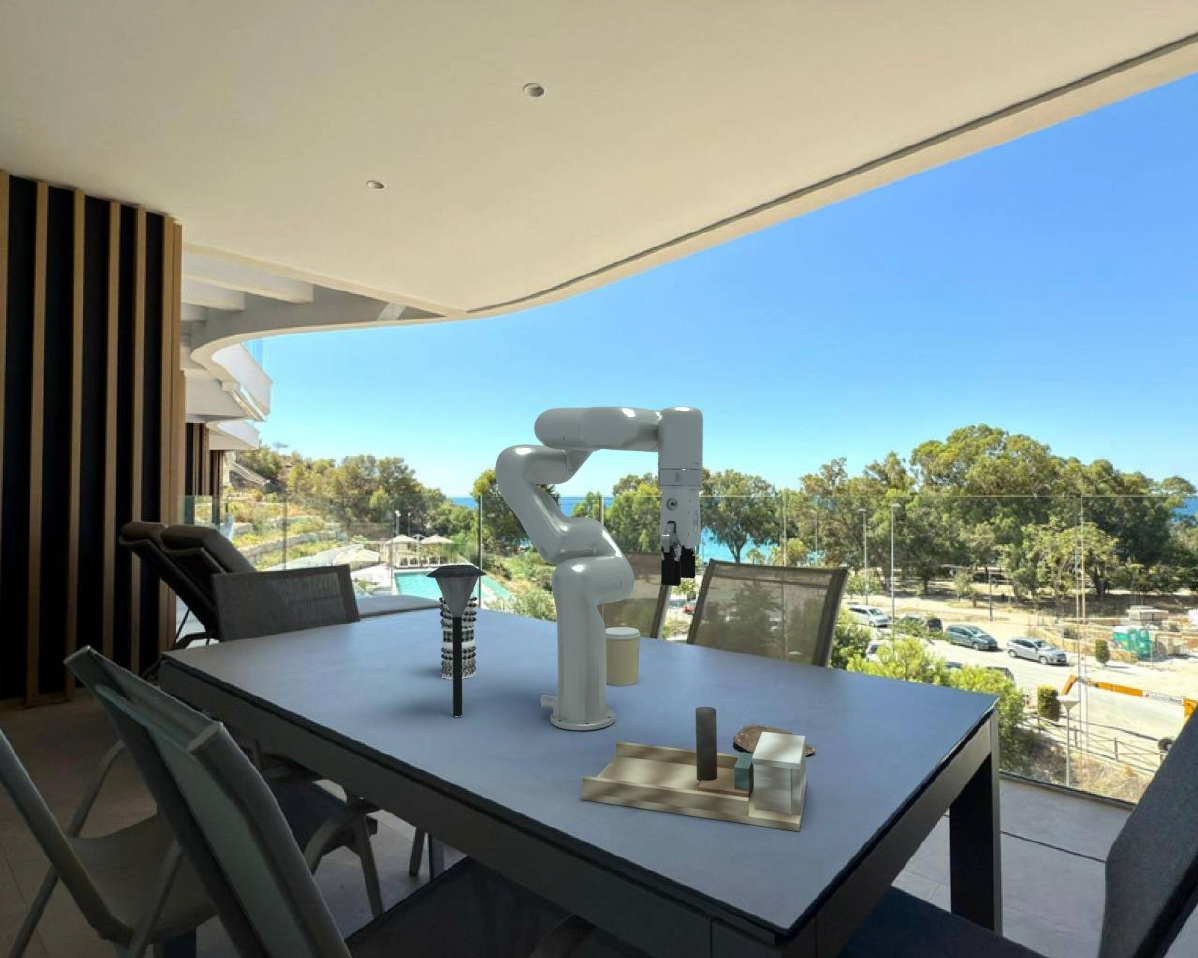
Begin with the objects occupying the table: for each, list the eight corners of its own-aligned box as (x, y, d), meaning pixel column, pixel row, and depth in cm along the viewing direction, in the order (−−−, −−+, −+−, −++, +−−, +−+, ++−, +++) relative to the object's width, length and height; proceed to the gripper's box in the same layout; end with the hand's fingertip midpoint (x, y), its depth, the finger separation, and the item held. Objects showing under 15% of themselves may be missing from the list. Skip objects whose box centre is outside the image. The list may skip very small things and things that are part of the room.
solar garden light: (501, 714, 139) (499, 565, 140) (450, 730, 130) (449, 570, 131) (463, 703, 148) (462, 562, 148) (413, 717, 138) (413, 566, 139)
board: (582, 799, 99) (582, 744, 100) (618, 759, 114) (617, 712, 115) (799, 831, 89) (798, 770, 89) (807, 783, 104) (806, 730, 104)
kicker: (691, 793, 98) (689, 716, 98) (702, 771, 106) (701, 701, 106) (748, 800, 95) (746, 722, 96) (755, 778, 103) (754, 705, 103)
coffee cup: (641, 676, 168) (641, 626, 168) (640, 687, 159) (639, 634, 159) (603, 676, 169) (603, 626, 169) (599, 686, 160) (599, 634, 160)
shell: (763, 768, 111) (762, 745, 111) (720, 742, 123) (719, 722, 123) (820, 756, 116) (820, 735, 116) (773, 733, 127) (773, 713, 128)
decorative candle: (470, 681, 166) (469, 576, 166) (433, 680, 167) (433, 576, 168) (482, 671, 175) (482, 572, 176) (447, 670, 176) (447, 572, 177)
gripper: (689, 480, 108) (687, 590, 108) (712, 481, 124) (711, 576, 124) (643, 479, 111) (641, 587, 111) (672, 480, 127) (671, 574, 127)
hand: (678, 581), depth 117 cm, fingers open, 9 cm apart
